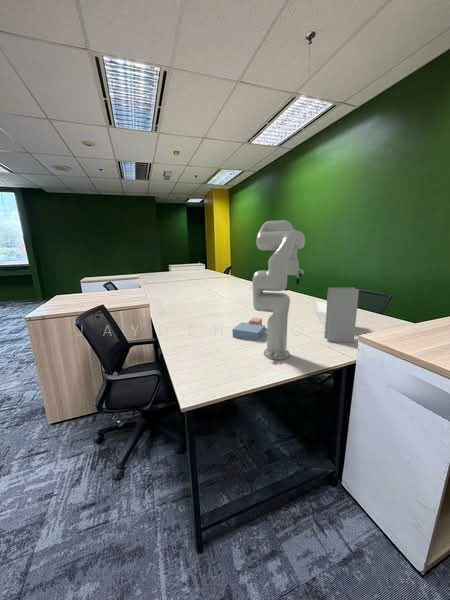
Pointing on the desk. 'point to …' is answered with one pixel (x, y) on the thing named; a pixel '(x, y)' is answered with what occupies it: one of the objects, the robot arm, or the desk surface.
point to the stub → (256, 321)
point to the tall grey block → (341, 314)
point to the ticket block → (249, 331)
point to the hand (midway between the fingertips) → (289, 283)
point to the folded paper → (321, 311)
